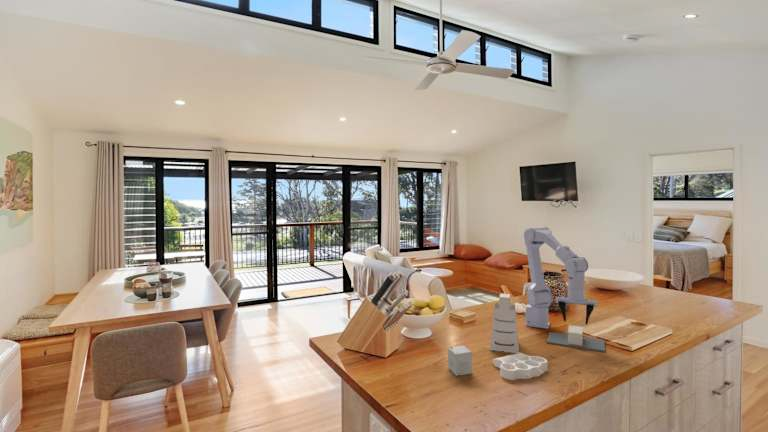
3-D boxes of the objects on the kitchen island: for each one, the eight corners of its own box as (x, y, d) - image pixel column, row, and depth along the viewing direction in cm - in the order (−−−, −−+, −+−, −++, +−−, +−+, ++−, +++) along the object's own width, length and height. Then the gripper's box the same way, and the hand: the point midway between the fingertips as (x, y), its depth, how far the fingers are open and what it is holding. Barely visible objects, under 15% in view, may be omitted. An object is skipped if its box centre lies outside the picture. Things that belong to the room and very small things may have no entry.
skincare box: (472, 373, 126) (472, 351, 126) (455, 376, 124) (455, 354, 124) (463, 366, 132) (463, 345, 132) (447, 368, 130) (447, 347, 130)
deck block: (568, 335, 157) (569, 325, 157) (582, 338, 155) (582, 327, 154) (567, 343, 149) (567, 332, 149) (582, 345, 147) (582, 334, 146)
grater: (518, 343, 152) (519, 293, 151) (518, 353, 142) (519, 300, 141) (491, 340, 155) (491, 291, 154) (489, 350, 145) (489, 298, 144)
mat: (546, 343, 151) (546, 341, 151) (549, 333, 162) (549, 331, 162) (604, 352, 142) (604, 350, 142) (604, 341, 152) (604, 339, 152)
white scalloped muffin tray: (524, 357, 139) (557, 374, 126) (484, 367, 131) (515, 386, 118) (524, 348, 139) (558, 364, 125) (484, 357, 131) (515, 375, 118)
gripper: (555, 288, 151) (554, 322, 151) (597, 292, 144) (596, 328, 144) (556, 284, 157) (556, 317, 158) (597, 288, 150) (596, 322, 151)
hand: (575, 322), depth 151 cm, fingers open, 7 cm apart
